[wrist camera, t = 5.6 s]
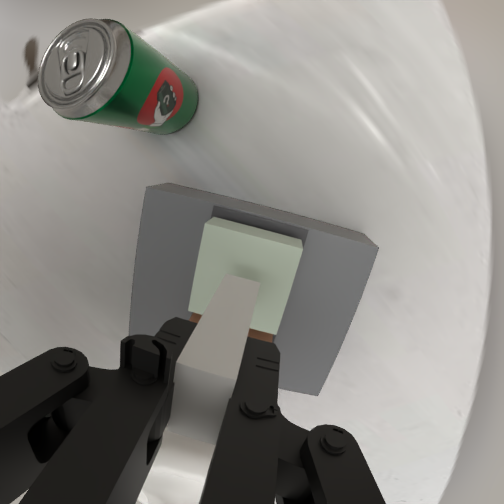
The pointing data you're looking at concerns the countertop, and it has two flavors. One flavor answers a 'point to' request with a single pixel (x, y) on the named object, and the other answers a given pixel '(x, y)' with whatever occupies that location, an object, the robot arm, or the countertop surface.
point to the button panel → (302, 291)
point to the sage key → (247, 268)
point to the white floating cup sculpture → (177, 471)
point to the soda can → (114, 79)
